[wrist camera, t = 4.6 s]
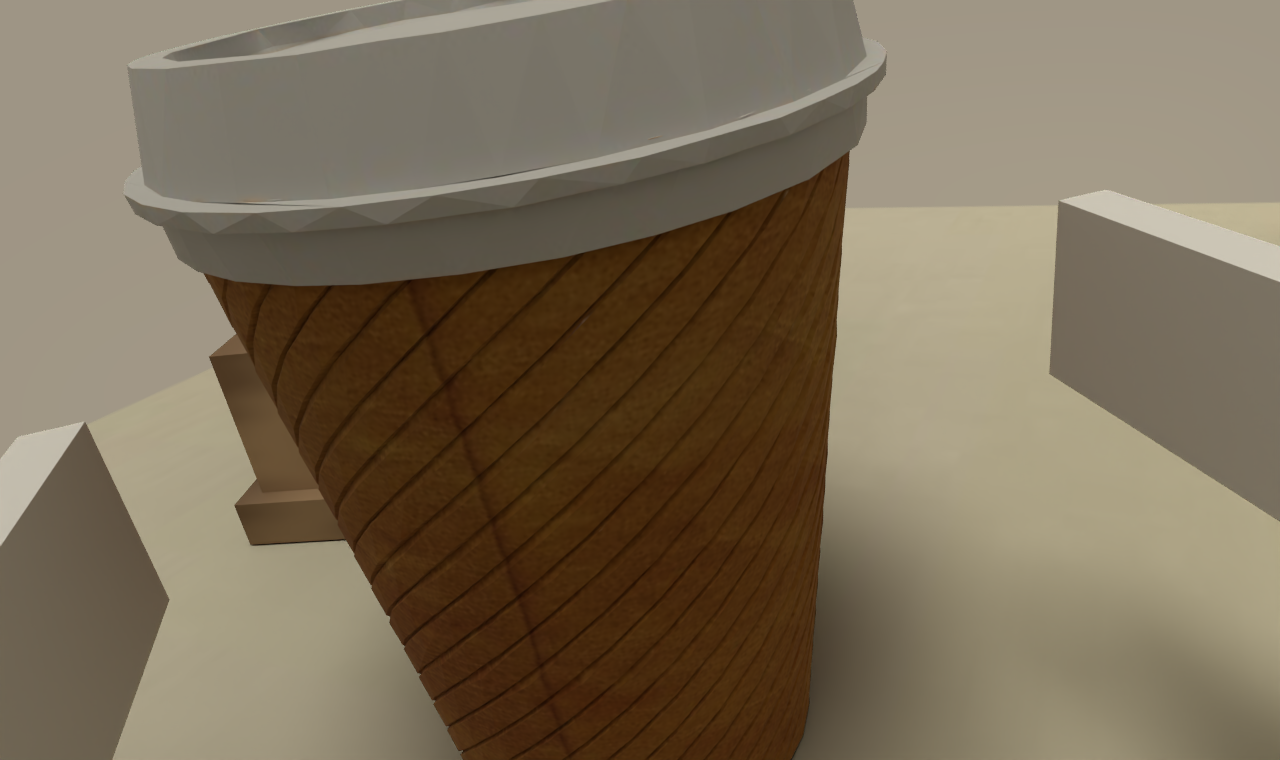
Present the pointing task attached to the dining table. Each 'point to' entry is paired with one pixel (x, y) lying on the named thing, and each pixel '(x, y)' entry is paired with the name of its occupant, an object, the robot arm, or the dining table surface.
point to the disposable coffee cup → (544, 335)
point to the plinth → (270, 460)
